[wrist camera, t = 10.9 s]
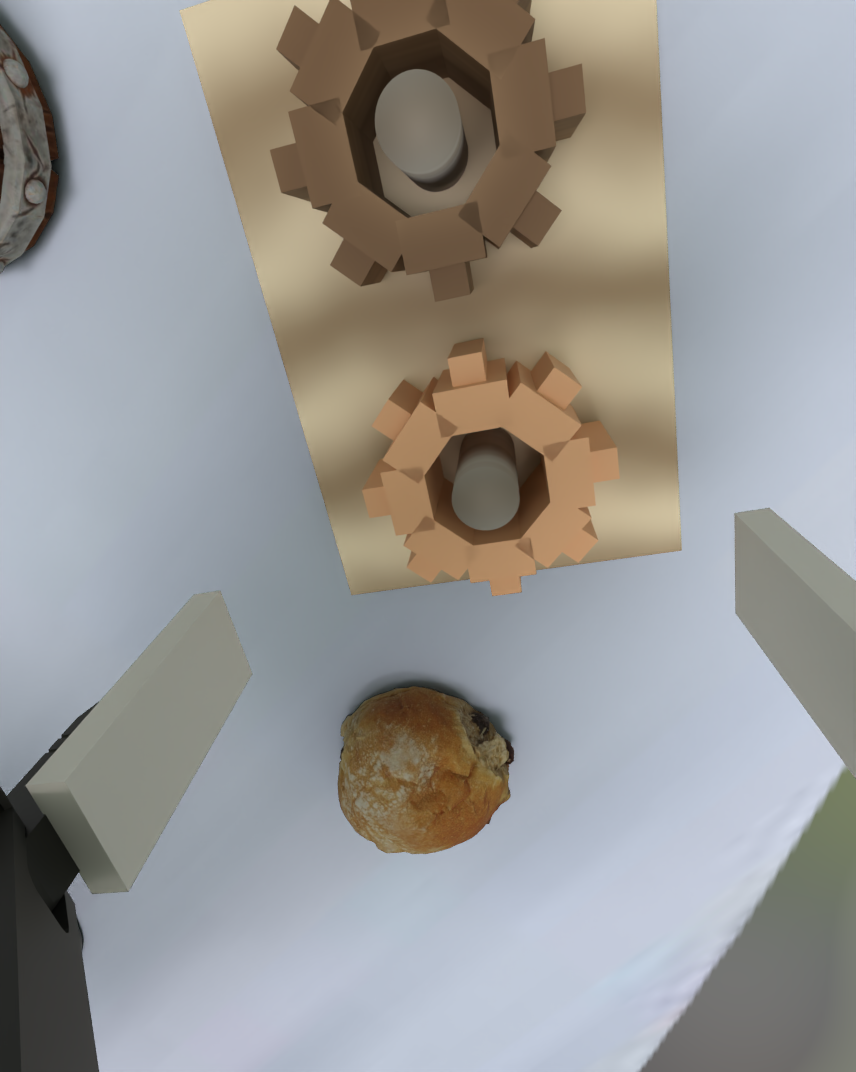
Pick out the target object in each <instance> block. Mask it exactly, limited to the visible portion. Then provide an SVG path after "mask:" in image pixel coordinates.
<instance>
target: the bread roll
mask: <svg viewBox="0 0 856 1072" xmlns="http://www.w3.org/2000/svg"><path fill="white" fill-rule="evenodd" d="M341 736H342V737H344V739H343V741H344V746H343V748H342V750H341V756H340V758H341V761H340V763H339V764H340V765H339V776H338V795H339V802H340V806H341V809H342V811H343V813H344V815H345V817H346V818H347V820H348V821H349V823H350V824H351V825H352V827H353V828H354V830H355V831H356V832H357V833H359V834H360V835H361V836H363V837H364V838H366V839H367V840H369V841H372V842H374V843H375V844H376V846H377V848H378V849H380V850H381V851H383V852H385V853H399V852H408V853H411V854H428V853H433V852H437V851H442V850H445V849H448V848H451V847H453V846H455V845H457V844H460V843H462V842H465V841H467V840H468V839H470V838H472V837H473V836H475V835H476V834H477V833H478V832H479V831H480V830H481V829H482V828H483V827H484V826H485V825H486V824H489V822H490V820H491V817H492V815H493V813H494V812H495V811H496V810H497V809H498V807H499V806H500V805H501V804H502V803H504V802H505V801H507V800H508V799H509V798H510V790H509V787H508V779H509V772H508V770H509V769H508V768H509V764H511V763H512V762H513V761H514V749H513V747H512V746H511V743H510V742H509V741H508V740H506V739H504V738H503V737H502V736H500V734H499V733H496V729H495V728H494V726H493V724H492V723H491V722H490V721H489V718H488V717H486V716H484V715H483V713H481V712H479V711H476V710H475V709H474V708H472V707H471V706H470V705H469V704H468V703H467V702H465V701H464V700H462V699H459V698H456V697H453V696H450V695H446V694H444V693H440V692H438V691H436V690H434V689H429V688H425V687H421V688H420V687H416V686H411V687H410V688H394V689H393V690H391V691H389V692H386V693H383V694H379V695H377V696H374V697H372V698H370V699H368V700H366V701H364V702H363V703H362V704H361V705H360V707H359V708H358V709H357V710H356V711H355V712H354V713H353V714H352V715H351V716H350V715H348V716H347V717H346V720H345V721H344V722H343V724H342V726H341Z"/></svg>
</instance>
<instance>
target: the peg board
mask: <svg viewBox="0 0 856 1072" xmlns="http://www.w3.org/2000/svg"><path fill="white" fill-rule="evenodd" d="M180 14H181V17H182V21H183V24H184V27H185V31H186V34H187V38H188V41H189V44H190V48H191V51H192V55H193V58H194V61H195V65H196V68H197V72H198V75H199V78H200V82H201V85H202V89H203V92H204V95H205V99H206V102H207V106H208V109H209V112H210V116H211V119H212V123H213V126H214V129H215V133H216V136H217V139H218V143H219V146H220V150H221V153H222V156H223V160H224V163H225V167H226V170H227V173H228V177H229V180H230V184H231V187H232V190H233V194H234V197H235V201H236V204H237V207H238V211H239V214H240V218H241V221H242V224H243V228H244V231H245V235H246V238H247V241H248V245H249V248H250V252H251V255H252V258H253V262H254V265H255V269H256V272H257V275H258V279H259V282H260V286H261V289H262V292H263V296H264V299H265V302H266V306H267V309H268V313H269V316H270V319H271V323H272V326H273V330H274V333H275V336H276V340H277V343H278V347H279V350H280V353H281V357H282V360H283V364H284V367H285V370H286V374H287V377H288V381H289V384H290V387H291V391H292V394H293V398H294V401H295V404H296V408H297V411H298V415H299V418H300V421H301V425H302V428H303V432H304V435H305V438H306V442H307V445H308V449H309V452H310V455H311V459H312V462H313V465H314V469H315V472H316V476H317V479H318V482H319V486H320V489H321V493H322V496H323V499H324V503H325V506H326V510H327V513H328V516H329V520H330V523H331V527H332V530H333V533H334V537H335V540H336V544H337V547H338V550H339V554H340V557H341V561H342V564H343V567H344V571H345V574H346V578H347V581H348V584H349V588H350V591H351V595H356V594H363V593H371V592H378V591H385V590H393V589H400V588H408V587H415V586H422V585H430V584H437V583H445V582H452V581H459V580H467V579H470V577H469V572H468V569H467V570H466V571H465V573H464V574H463V575H462V576H461V578H460V579H459V580H457V579H455V578H454V577H452V576H451V575H449V574H447V573H446V572H444V571H443V570H441V571H440V572H439V573H438V575H437V576H436V577H435V579H434V580H433V581H432V582H431V583H430V582H429V581H427V580H426V579H424V578H422V577H421V576H419V575H418V574H416V573H414V572H413V571H411V570H410V569H408V568H407V564H408V561H409V557H410V554H411V550H409V549H408V548H406V547H405V546H403V545H404V542H405V539H406V536H407V534H404V535H398V536H396V534H395V530H394V526H393V522H392V518H391V515H387V516H381V517H374V518H369V515H368V511H367V508H366V504H365V500H364V496H363V493H362V489H363V487H364V485H365V484H366V482H367V480H368V478H369V477H370V475H371V473H372V472H373V470H374V468H375V466H376V465H377V463H378V461H379V459H383V458H384V456H385V454H386V453H387V451H388V449H389V447H390V445H391V444H392V442H393V440H392V439H390V438H389V437H387V436H386V435H384V434H382V433H381V432H379V431H378V430H376V429H375V428H373V427H372V424H373V423H374V421H375V420H376V418H377V416H378V415H379V413H380V412H381V410H382V408H383V407H384V405H385V404H386V402H387V400H388V399H389V398H390V396H391V395H392V394H393V392H394V391H395V390H396V388H397V387H398V386H399V384H400V383H401V382H402V380H403V379H404V380H405V381H407V382H408V383H410V384H411V385H413V386H414V387H416V388H417V389H418V390H420V391H421V392H424V390H425V389H426V387H427V386H428V384H429V383H430V381H431V380H432V378H433V377H435V378H436V379H437V380H439V378H440V376H441V374H442V372H443V370H446V369H449V365H448V360H447V358H448V356H449V354H450V352H451V350H452V348H453V346H454V344H457V343H462V342H467V341H472V340H476V339H481V338H484V344H485V350H486V356H487V361H491V360H496V359H501V358H504V359H505V365H506V372H507V373H508V371H509V370H510V369H511V367H512V366H513V364H514V363H515V362H516V361H518V362H519V363H521V364H522V365H524V366H525V367H526V368H528V369H529V370H531V371H532V369H533V368H534V367H535V365H536V364H537V362H538V361H539V360H540V358H541V357H542V356H543V354H544V353H545V351H546V352H548V353H549V354H551V355H552V356H553V357H555V358H556V359H557V360H559V361H560V362H562V363H563V364H564V365H566V366H567V367H569V368H570V370H571V371H572V373H573V374H574V376H575V377H576V378H577V380H578V381H579V383H580V384H581V386H582V388H581V389H580V391H579V392H578V393H577V395H576V396H575V397H574V398H573V400H572V401H571V402H570V404H571V406H572V407H573V408H574V410H575V412H576V414H577V416H578V418H579V420H580V422H581V424H583V423H588V422H594V421H600V422H601V423H602V425H603V426H604V428H605V430H606V431H607V433H608V434H609V436H610V437H611V439H612V440H613V442H614V443H615V445H616V447H617V452H618V464H619V475H620V479H615V480H608V481H602V482H596V483H594V493H595V502H596V506H589V507H588V509H589V512H590V515H591V517H592V518H591V521H592V524H593V527H594V529H595V532H596V535H597V538H598V540H599V541H598V542H597V543H596V544H595V545H594V546H593V547H592V548H591V549H590V551H589V552H588V553H587V554H586V555H585V556H584V557H583V558H582V560H581V561H580V562H579V563H578V562H576V561H575V560H573V559H572V558H570V557H569V556H567V555H566V554H564V553H563V552H562V553H561V554H560V555H559V556H558V557H557V558H556V560H555V561H554V562H553V563H552V564H551V565H550V566H549V568H556V567H563V566H570V565H578V564H585V563H592V562H600V561H607V560H615V559H622V558H629V557H637V556H644V555H652V554H659V553H666V552H674V551H681V550H682V547H681V525H680V504H679V482H678V460H677V438H676V417H675V395H674V373H673V352H672V330H671V308H670V287H669V265H668V243H667V221H666V200H665V178H664V156H663V135H662V113H661V91H660V70H659V48H658V26H657V4H656V0H210V1H207V2H204V3H201V4H198V5H195V6H192V7H189V8H186V9H183V10H180ZM439 456H440V461H441V465H442V470H443V475H444V478H445V479H447V480H448V481H450V482H452V483H453V484H454V486H453V492H452V505H453V509H454V511H455V513H456V515H457V516H458V518H459V519H460V520H461V521H462V522H463V523H465V524H466V525H468V526H469V527H472V528H474V529H478V530H494V529H497V528H500V527H502V526H504V525H505V524H507V523H508V522H509V521H510V520H511V519H512V518H513V517H514V515H515V514H516V512H517V510H518V507H519V502H520V496H519V489H520V488H521V486H522V485H523V484H524V483H525V481H526V480H527V479H528V477H529V476H530V475H531V474H532V472H533V471H534V470H535V469H536V467H537V466H538V465H539V463H540V462H541V457H540V452H538V451H537V450H535V449H534V448H532V447H531V446H529V445H528V444H526V443H525V442H524V441H522V440H521V439H519V438H518V437H516V436H515V435H513V434H512V433H510V432H509V431H508V430H506V429H505V428H503V427H500V428H494V429H489V430H483V431H477V432H472V433H466V434H461V435H455V436H451V438H450V439H449V441H448V442H447V444H446V445H445V447H444V448H443V449H442V451H441V452H440V454H439ZM535 567H536V570H541V569H548V568H547V567H545V566H544V565H542V564H541V563H539V562H538V561H536V560H535Z"/></svg>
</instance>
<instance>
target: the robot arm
mask: <svg viewBox="0 0 856 1072" xmlns="http://www.w3.org/2000/svg"><path fill="white" fill-rule="evenodd" d="M734 515H735V611H736V614H737V616H738V617H739V619H740V620H741V621H742V623H743V624H744V625H745V627H746V628H747V630H748V631H749V632H750V634H751V635H752V636H753V638H754V639H755V641H756V642H757V643H758V645H759V646H760V647H761V649H762V650H763V652H764V653H765V654H766V656H767V657H768V658H769V660H770V661H771V663H772V664H773V665H774V667H775V668H776V670H777V671H778V672H779V674H780V675H781V676H782V678H783V679H784V681H785V682H786V683H787V685H788V686H789V687H790V689H791V690H792V692H793V693H794V694H795V696H796V697H797V698H798V700H799V701H800V703H801V704H802V705H803V707H804V708H805V709H806V711H807V712H808V714H809V715H810V716H811V718H812V719H813V720H814V722H815V723H816V725H817V726H818V727H819V729H820V730H821V731H822V733H823V734H824V736H825V737H826V738H827V740H828V741H829V743H830V744H831V745H832V747H833V748H834V749H835V751H836V752H837V754H838V755H839V756H840V758H841V759H842V760H843V762H844V763H845V765H846V766H847V767H848V769H849V770H850V771H851V773H852V774H853V776H854V777H855V778H856V581H855V580H854V579H853V578H851V577H850V576H849V575H848V574H847V573H846V572H844V571H843V570H842V569H841V568H840V567H838V566H837V565H836V564H835V563H834V562H833V561H831V560H830V559H829V558H828V557H827V556H826V555H824V554H823V553H822V552H821V551H820V550H818V549H817V548H816V547H815V546H814V545H813V544H811V543H810V542H809V541H808V540H807V539H805V538H804V537H803V536H802V535H801V534H800V533H798V532H797V531H796V530H795V529H794V528H792V527H791V526H790V525H789V524H788V523H787V522H785V521H784V520H783V519H782V518H781V517H779V516H778V515H777V514H776V513H775V512H774V511H772V510H771V509H770V508H765V509H758V510H751V511H745V512H738V513H734ZM251 675H252V672H251V669H250V667H249V664H248V661H247V659H246V656H245V654H244V651H243V648H242V646H241V643H240V641H239V638H238V636H237V633H236V630H235V628H234V625H233V623H232V620H231V617H230V615H229V612H228V610H227V607H226V605H225V602H224V599H223V597H222V594H221V592H220V591H214V592H207V593H201V594H194V595H193V596H192V597H191V599H190V600H189V601H188V602H187V603H186V604H185V605H184V607H183V608H182V609H181V610H180V611H179V612H178V613H177V614H176V616H175V617H174V618H173V619H172V620H171V621H170V622H169V623H168V625H167V626H166V627H165V628H164V629H163V630H162V631H161V633H160V634H159V635H158V636H157V637H156V638H155V639H154V640H153V642H152V643H151V644H150V645H149V646H148V647H147V648H146V650H145V651H144V652H143V653H142V654H141V655H140V656H139V657H138V659H137V660H136V661H135V662H134V663H133V664H132V665H131V667H130V668H129V669H128V670H127V671H126V672H125V673H124V674H123V676H122V677H121V678H120V679H119V680H118V681H117V682H116V684H115V685H114V686H113V687H112V688H111V689H110V690H109V691H108V693H107V694H106V695H105V696H104V697H103V698H102V699H101V700H100V702H98V703H96V704H95V705H94V706H92V707H91V708H90V709H88V710H87V711H86V712H84V713H83V714H82V715H80V716H79V717H78V718H77V719H76V720H75V721H74V722H73V723H72V724H71V725H70V726H69V728H68V729H67V730H66V731H65V732H64V733H63V734H62V735H61V736H62V738H61V739H58V740H57V741H56V742H55V743H54V744H53V745H52V746H51V748H50V749H49V753H45V754H44V755H43V756H42V758H41V759H40V760H39V761H38V762H37V763H36V764H35V765H34V766H33V768H32V769H31V770H30V771H29V772H28V773H27V774H26V775H25V776H24V778H23V779H22V780H21V781H20V782H19V783H18V784H17V785H16V786H15V788H14V789H13V790H12V791H11V792H10V793H9V794H8V795H7V796H6V795H5V793H4V792H3V790H2V788H1V787H0V1072H99V1068H98V1061H97V1054H96V1048H95V1041H94V1034H93V1027H92V1020H91V1013H90V1006H89V999H88V992H87V985H86V979H85V972H84V965H83V958H82V951H81V950H82V936H81V932H80V929H79V927H78V923H77V917H76V910H75V904H74V902H73V900H72V898H71V896H70V895H69V893H68V892H67V889H68V887H69V886H70V884H71V883H72V881H73V880H74V878H75V877H76V875H77V874H78V872H79V873H80V875H81V877H82V878H83V880H84V881H85V883H86V885H87V886H88V888H89V889H90V891H91V893H92V894H99V893H114V892H129V890H130V888H131V886H132V885H133V883H134V881H135V879H136V878H137V876H138V874H139V872H140V871H141V869H142V867H143V865H144V864H145V862H146V860H147V858H148V857H149V855H150V853H151V851H152V850H153V848H154V846H155V844H156V842H157V841H158V839H159V837H160V835H161V834H162V832H163V830H164V828H165V827H166V825H167V823H168V821H169V820H170V818H171V816H172V814H173V813H174V811H175V809H176V807H177V806H178V804H179V802H180V800H181V798H182V797H183V795H184V793H185V791H186V790H187V788H188V786H189V784H190V783H191V781H192V779H193V777H194V776H195V774H196V772H197V770H198V769H199V767H200V765H201V763H202V762H203V760H204V758H205V756H206V755H207V753H208V751H209V749H210V747H211V746H212V744H213V742H214V740H215V739H216V737H217V735H218V733H219V732H220V730H221V728H222V726H223V725H224V723H225V721H226V719H227V718H228V716H229V714H230V712H231V711H232V709H233V707H234V705H235V703H236V702H237V700H238V698H239V696H240V695H241V693H242V691H243V689H244V688H245V686H246V684H247V682H248V681H249V679H250V677H251Z"/></svg>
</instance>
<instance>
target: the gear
mask: <svg viewBox="0 0 856 1072" xmlns="http://www.w3.org/2000/svg"><path fill="white" fill-rule="evenodd" d="M447 360H448V365H449V369H446V370H443V372H442V374H441V376H440V378H439V380H437V379H436V378H435V377H433V378H432V380H431V381H430V383H429V384H428V386H427V387H426V389H425V390H424V392H421V391H420V390H418V389H417V388H416V387H414V386H413V385H411V384H410V383H408V382H407V381H405V380H404V379H403V380H402V382H401V383H400V384H399V386H398V387H397V388H396V390H395V391H394V392H393V394H392V395H391V396H390V398H389V399H388V400H387V402H386V404H385V405H384V407H383V408H382V410H381V412H380V413H379V415H378V416H377V418H376V420H375V421H374V423H373V424H372V427H373V428H375V429H376V430H378V431H379V432H381V433H382V434H384V435H386V436H387V437H389V438H390V439H392V440H393V442H392V444H391V445H390V447H389V449H388V451H387V453H386V454H385V456H384V458H383V459H379V461H378V463H377V465H376V466H375V468H374V470H373V472H372V473H371V475H370V477H369V478H368V480H367V482H366V484H365V485H364V487H363V489H362V493H363V496H364V500H365V504H366V508H367V511H368V515H369V518H374V517H381V516H387V515H391V518H392V522H393V526H394V530H395V534H396V536H398V535H404V534H407V536H406V539H405V542H404V545H403V546H405V547H406V548H408V549H409V550H411V554H410V557H409V561H408V564H407V568H408V569H410V570H411V571H413V572H414V573H416V574H418V575H419V576H421V577H422V578H424V579H426V580H427V581H429V582H430V583H431V582H432V581H433V580H434V579H435V577H436V576H437V575H438V573H439V572H440V571H441V570H443V571H444V572H446V573H447V574H449V575H451V576H452V577H454V578H455V579H457V580H459V579H460V578H461V576H462V575H463V574H464V573H465V571H466V570H467V569H468V572H469V577H470V582H471V583H475V582H482V581H490V586H491V592H492V596H497V595H505V594H512V593H520V592H522V590H521V577H520V576H527V575H535V574H536V567H535V560H536V561H538V562H539V563H541V564H542V565H544V566H545V567H547V568H549V566H550V565H551V564H552V563H553V562H554V561H555V560H556V558H557V557H558V556H559V555H560V554H561V553H562V552H563V553H564V554H566V555H567V556H569V557H570V558H572V559H573V560H575V561H576V562H578V563H579V562H580V561H581V560H582V558H583V557H584V556H585V555H586V554H587V553H588V552H589V551H590V549H591V548H592V547H593V546H594V545H595V544H596V543H597V542H598V541H599V540H598V538H597V535H596V532H595V529H594V527H593V524H592V521H591V518H592V517H591V515H590V512H589V509H588V507H589V506H596V502H595V493H594V483H596V482H602V481H608V480H615V479H620V475H619V464H618V452H617V447H616V445H615V443H614V442H613V440H612V439H611V437H610V436H609V434H608V433H607V431H606V430H605V428H604V426H603V425H602V423H601V422H600V421H594V422H588V423H583V424H581V422H580V420H579V418H578V416H577V414H576V412H575V410H574V408H573V407H572V406H571V404H570V402H571V401H572V400H573V398H574V397H575V396H576V395H577V393H578V392H579V391H580V389H581V388H582V386H581V384H580V383H579V381H578V380H577V378H576V377H575V376H574V374H573V373H572V371H571V370H570V368H569V367H567V366H566V365H564V364H563V363H562V362H560V361H559V360H557V359H556V358H555V357H553V356H552V355H551V354H549V353H548V352H546V351H545V353H544V354H543V356H542V357H541V358H540V360H539V361H538V362H537V364H536V365H535V367H534V368H533V369H532V371H531V370H529V369H528V368H526V367H525V366H524V365H522V364H521V363H519V362H518V361H516V362H515V363H514V364H513V366H512V367H511V369H510V370H509V371H508V373H507V372H506V365H505V359H504V358H501V359H496V360H491V361H487V356H486V350H485V344H484V338H481V339H476V340H472V341H467V342H462V343H457V344H454V346H453V348H452V350H451V352H450V354H449V356H448V358H447ZM500 427H503V428H505V429H506V430H508V431H509V432H510V433H512V434H513V435H515V436H516V437H518V438H519V439H521V440H522V441H524V442H525V443H526V444H528V445H529V446H531V447H532V448H534V449H535V450H537V451H538V452H540V457H541V462H540V463H539V465H538V466H537V467H536V469H535V470H534V471H533V472H532V474H531V475H530V476H529V477H528V479H527V480H526V481H525V483H524V484H523V485H522V486H521V488H520V489H519V496H520V502H519V507H518V510H517V512H516V514H515V515H514V517H513V518H512V519H511V520H510V521H509V522H508V523H507V524H505V525H504V526H502V527H500V528H497V529H494V530H478V529H474V528H472V527H469V526H468V525H466V524H465V523H463V522H462V521H461V520H460V519H459V518H458V516H457V515H456V513H455V511H454V509H453V505H452V492H453V486H454V484H453V483H452V482H450V481H448V480H447V479H445V478H444V475H443V470H442V465H441V461H440V456H439V454H440V452H441V451H442V449H443V448H444V447H445V445H446V444H447V442H448V441H449V439H450V438H451V436H455V435H461V434H466V433H472V432H477V431H483V430H489V429H494V428H500Z"/></svg>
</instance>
